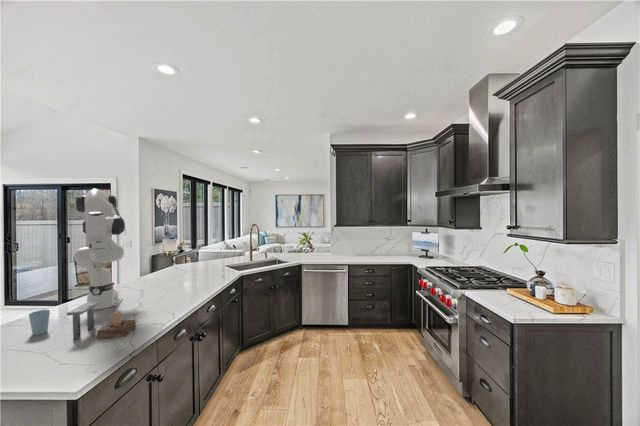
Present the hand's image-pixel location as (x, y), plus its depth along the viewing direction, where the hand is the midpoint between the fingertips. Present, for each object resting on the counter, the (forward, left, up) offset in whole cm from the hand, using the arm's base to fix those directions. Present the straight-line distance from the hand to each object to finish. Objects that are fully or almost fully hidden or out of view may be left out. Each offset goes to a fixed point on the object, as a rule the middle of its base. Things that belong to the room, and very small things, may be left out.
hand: (97, 269), depth 153 cm
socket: (+9, +13, -31) cm, 34 cm away
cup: (-1, -26, -31) cm, 41 cm away
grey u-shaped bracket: (+6, -3, -31) cm, 31 cm away
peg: (+9, +13, -31) cm, 34 cm away
